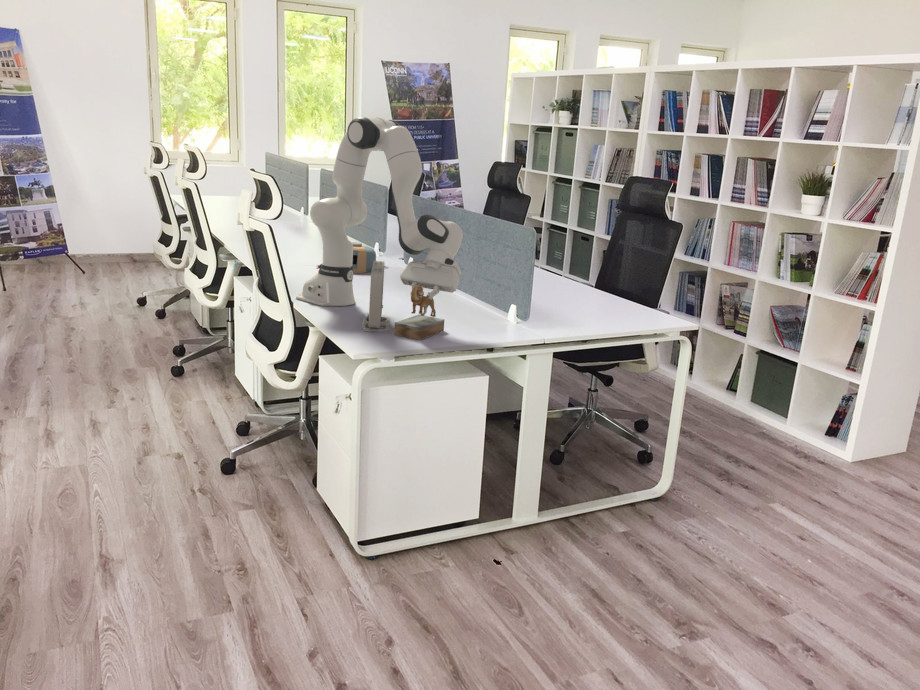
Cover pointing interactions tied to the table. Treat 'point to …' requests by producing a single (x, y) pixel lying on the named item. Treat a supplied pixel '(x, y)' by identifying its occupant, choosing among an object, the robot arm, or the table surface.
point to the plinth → (419, 327)
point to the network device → (376, 300)
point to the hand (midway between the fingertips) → (420, 297)
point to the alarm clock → (362, 258)
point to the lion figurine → (421, 301)
